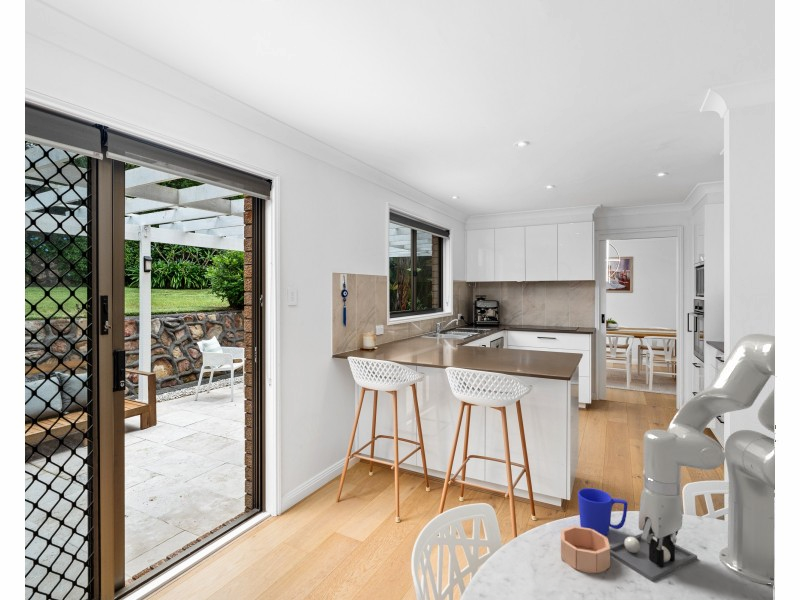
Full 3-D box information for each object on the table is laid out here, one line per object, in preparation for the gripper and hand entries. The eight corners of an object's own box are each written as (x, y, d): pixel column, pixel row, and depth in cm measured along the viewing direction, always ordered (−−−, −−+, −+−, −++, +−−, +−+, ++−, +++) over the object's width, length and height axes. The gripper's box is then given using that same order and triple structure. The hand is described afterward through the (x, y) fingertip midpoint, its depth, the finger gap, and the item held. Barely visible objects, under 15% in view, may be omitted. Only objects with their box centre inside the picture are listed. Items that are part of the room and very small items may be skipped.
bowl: (581, 542, 111) (582, 522, 111) (618, 565, 102) (619, 544, 102) (551, 553, 107) (551, 533, 107) (587, 579, 97) (587, 557, 97)
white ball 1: (630, 545, 109) (630, 532, 109) (643, 553, 106) (643, 539, 106) (620, 549, 108) (621, 535, 107) (634, 557, 104) (634, 543, 104)
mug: (631, 544, 110) (632, 505, 110) (581, 539, 113) (581, 501, 112) (622, 526, 118) (622, 490, 118) (575, 522, 121) (575, 486, 120)
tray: (648, 534, 114) (648, 530, 114) (697, 560, 104) (697, 555, 104) (604, 553, 107) (604, 548, 107) (651, 582, 96) (651, 577, 96)
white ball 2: (659, 554, 105) (659, 540, 105) (673, 563, 102) (673, 548, 102) (650, 559, 104) (650, 544, 104) (664, 567, 101) (664, 552, 100)
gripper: (667, 471, 109) (667, 542, 110) (624, 485, 102) (624, 562, 103) (699, 482, 103) (699, 559, 103) (655, 499, 95) (655, 581, 96)
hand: (661, 560), depth 103 cm, fingers closed on white ball 2, 3 cm apart
